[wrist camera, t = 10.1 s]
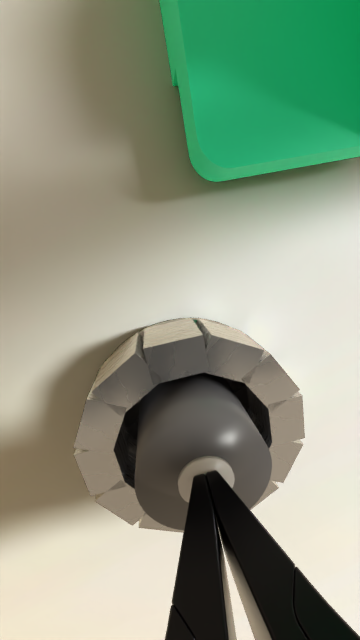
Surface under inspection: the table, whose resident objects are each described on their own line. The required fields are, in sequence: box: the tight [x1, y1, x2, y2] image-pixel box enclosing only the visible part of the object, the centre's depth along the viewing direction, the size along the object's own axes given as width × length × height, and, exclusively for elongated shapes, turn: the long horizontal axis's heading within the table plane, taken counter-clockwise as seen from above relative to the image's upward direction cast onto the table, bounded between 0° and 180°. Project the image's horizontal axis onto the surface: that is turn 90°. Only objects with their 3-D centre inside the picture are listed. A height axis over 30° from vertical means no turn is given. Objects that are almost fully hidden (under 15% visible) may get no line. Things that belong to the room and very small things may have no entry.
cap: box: [135, 372, 272, 530], centre depth 10 cm, size 5×5×4 cm
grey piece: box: [73, 318, 305, 533], centre depth 11 cm, size 10×10×3 cm
